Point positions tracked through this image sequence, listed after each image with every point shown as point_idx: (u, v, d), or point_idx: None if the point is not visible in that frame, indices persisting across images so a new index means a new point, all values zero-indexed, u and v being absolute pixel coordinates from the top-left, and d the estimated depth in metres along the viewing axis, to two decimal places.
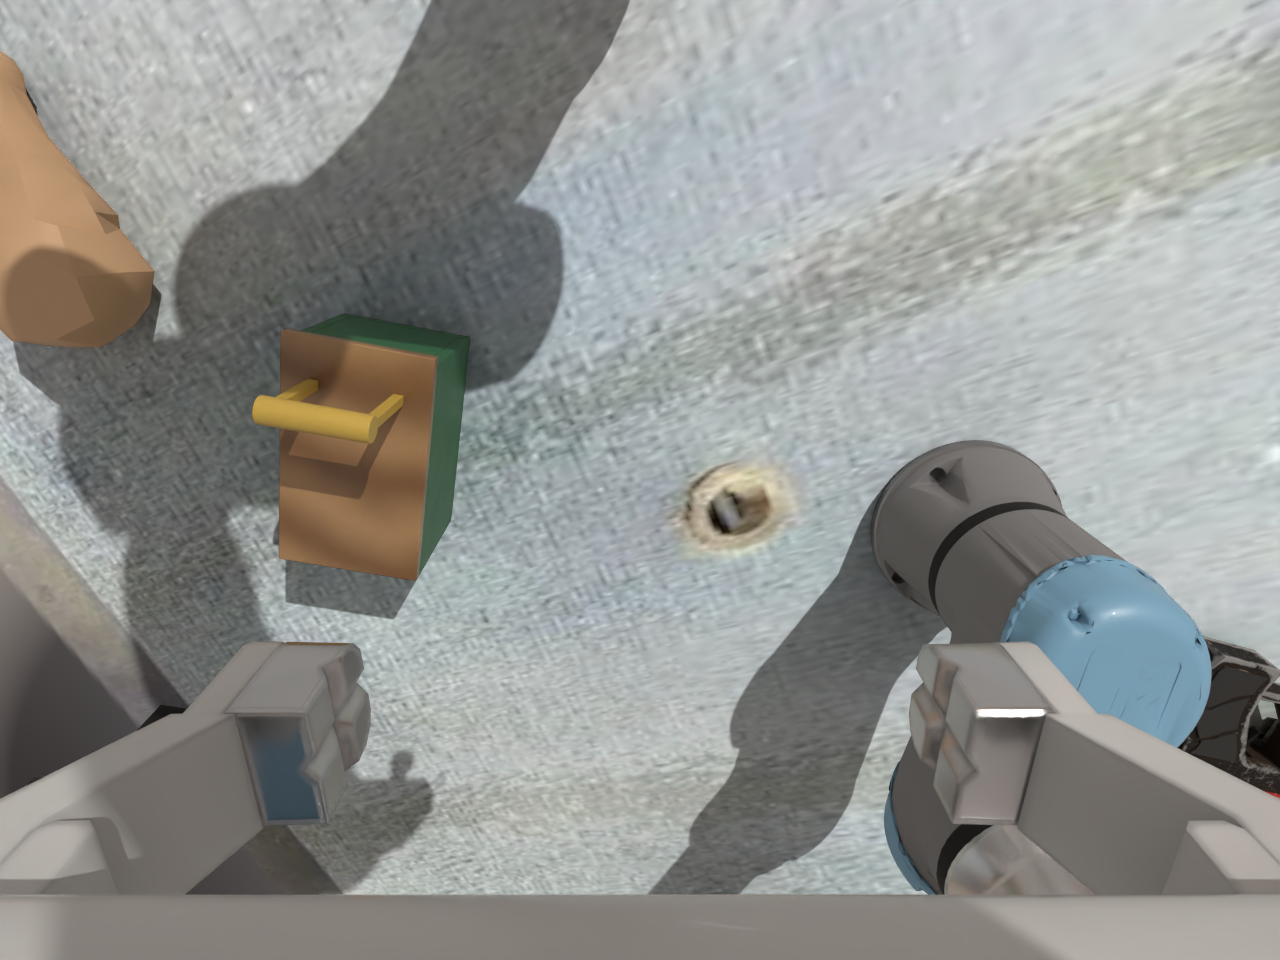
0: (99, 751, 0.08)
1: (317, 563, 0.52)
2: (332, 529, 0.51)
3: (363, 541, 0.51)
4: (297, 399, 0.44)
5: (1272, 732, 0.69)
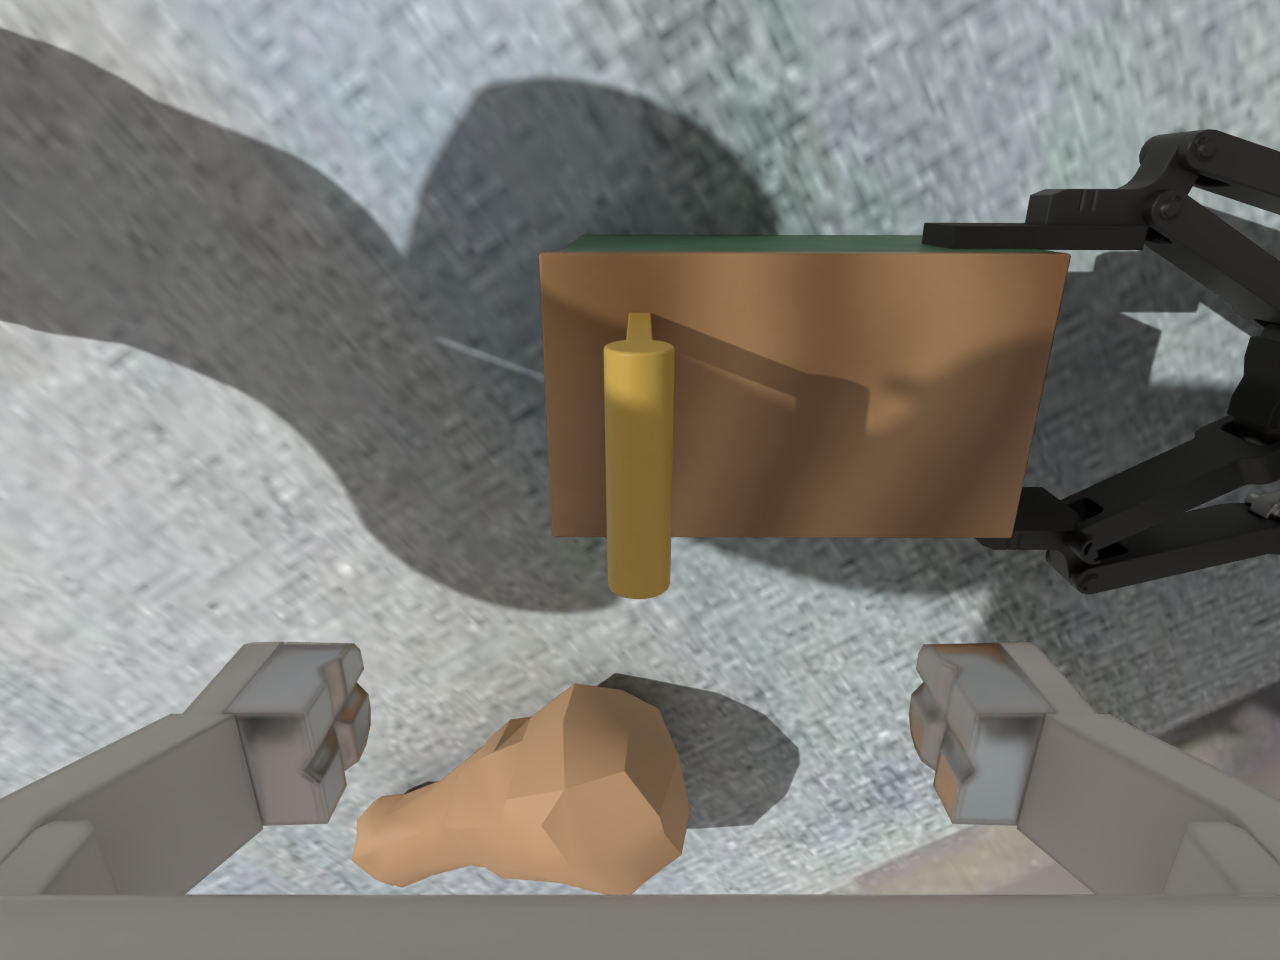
0: (99, 751, 0.08)
1: (1022, 467, 0.25)
2: (942, 440, 0.25)
3: (969, 376, 0.24)
4: None
5: None
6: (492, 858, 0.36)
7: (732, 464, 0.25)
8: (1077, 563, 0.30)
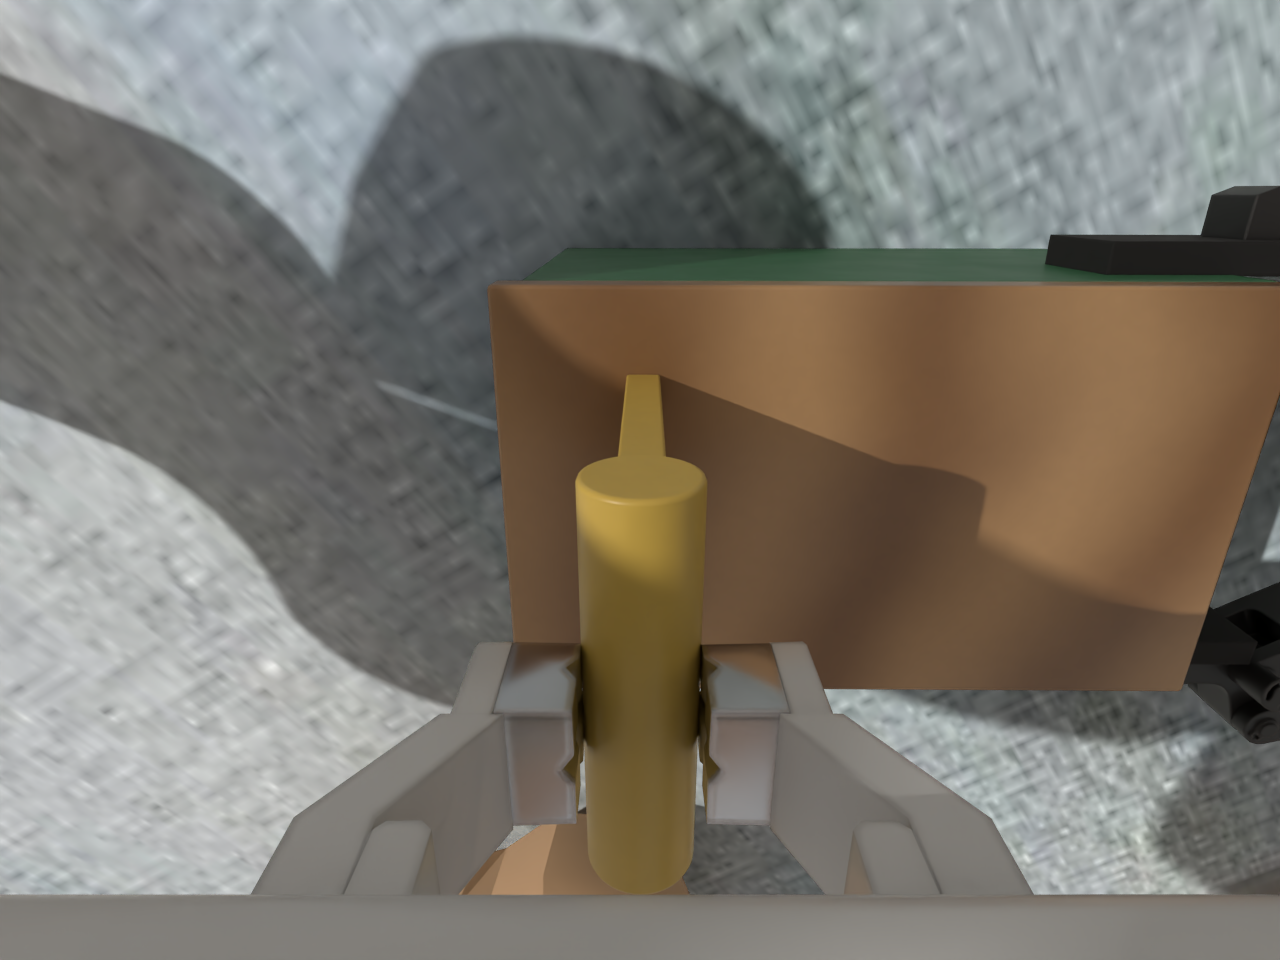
0: (391, 751, 0.08)
1: (1207, 596, 0.17)
2: (1091, 558, 0.17)
3: (1140, 469, 0.16)
4: None
5: None
6: None
7: (779, 591, 0.17)
8: (1244, 701, 0.22)
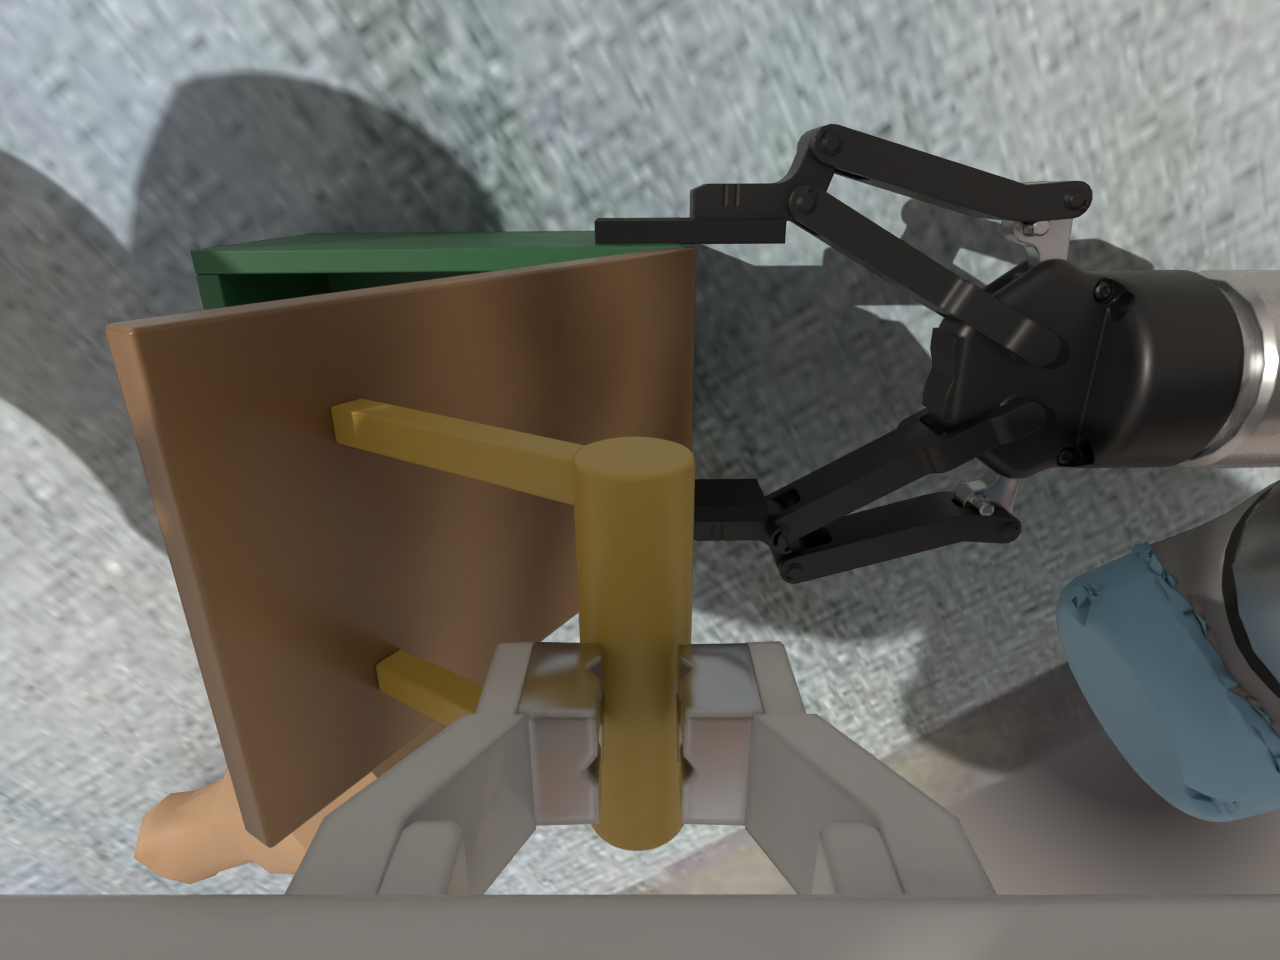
0: (418, 751, 0.08)
1: None
2: None
3: (655, 384, 0.22)
4: None
5: None
6: (250, 853, 0.36)
7: (492, 577, 0.18)
8: (782, 553, 0.30)
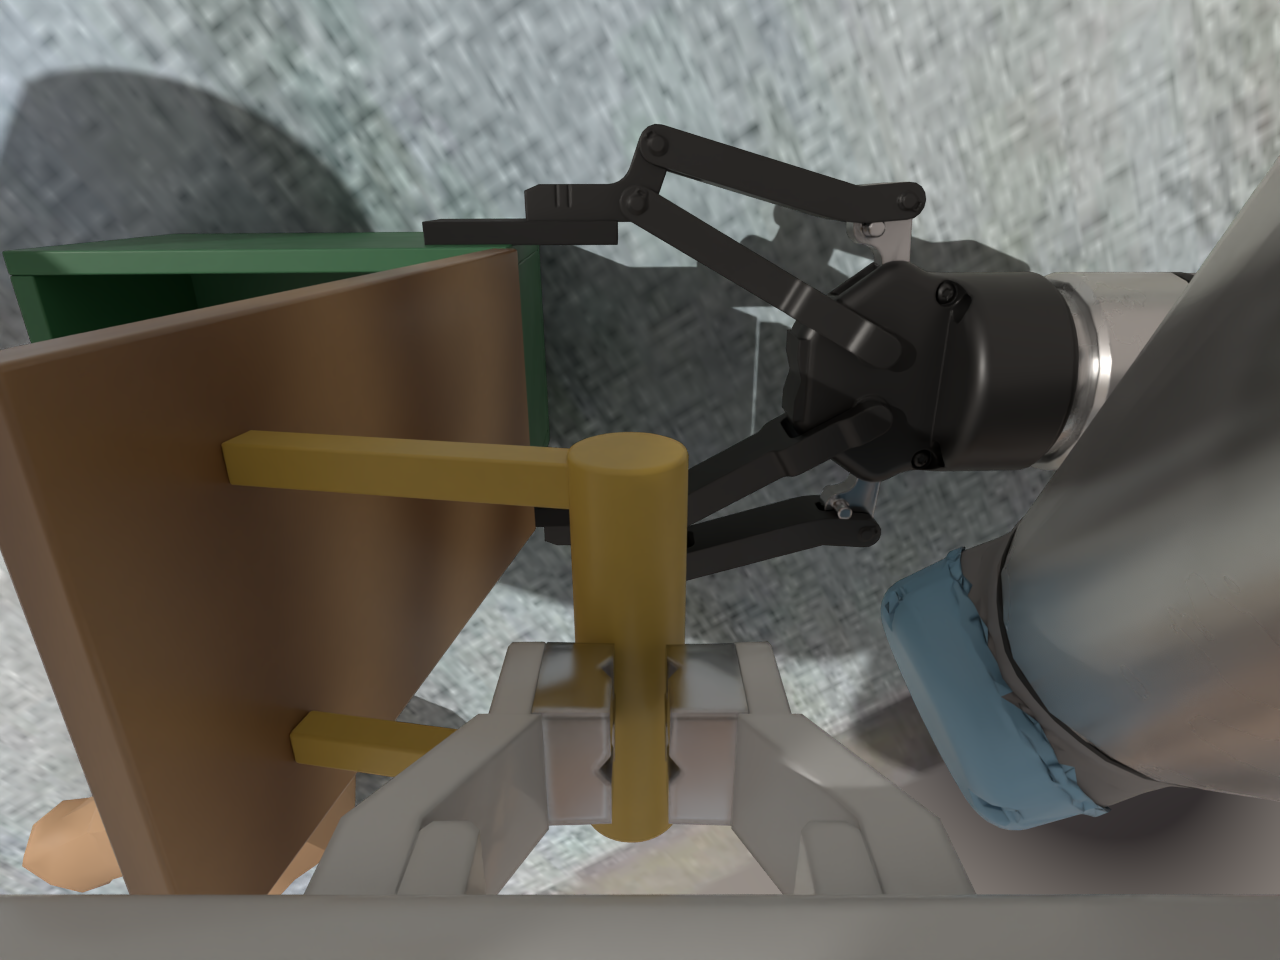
0: (433, 751, 0.08)
1: None
2: None
3: (498, 389, 0.22)
4: None
5: None
6: None
7: (384, 612, 0.16)
8: None
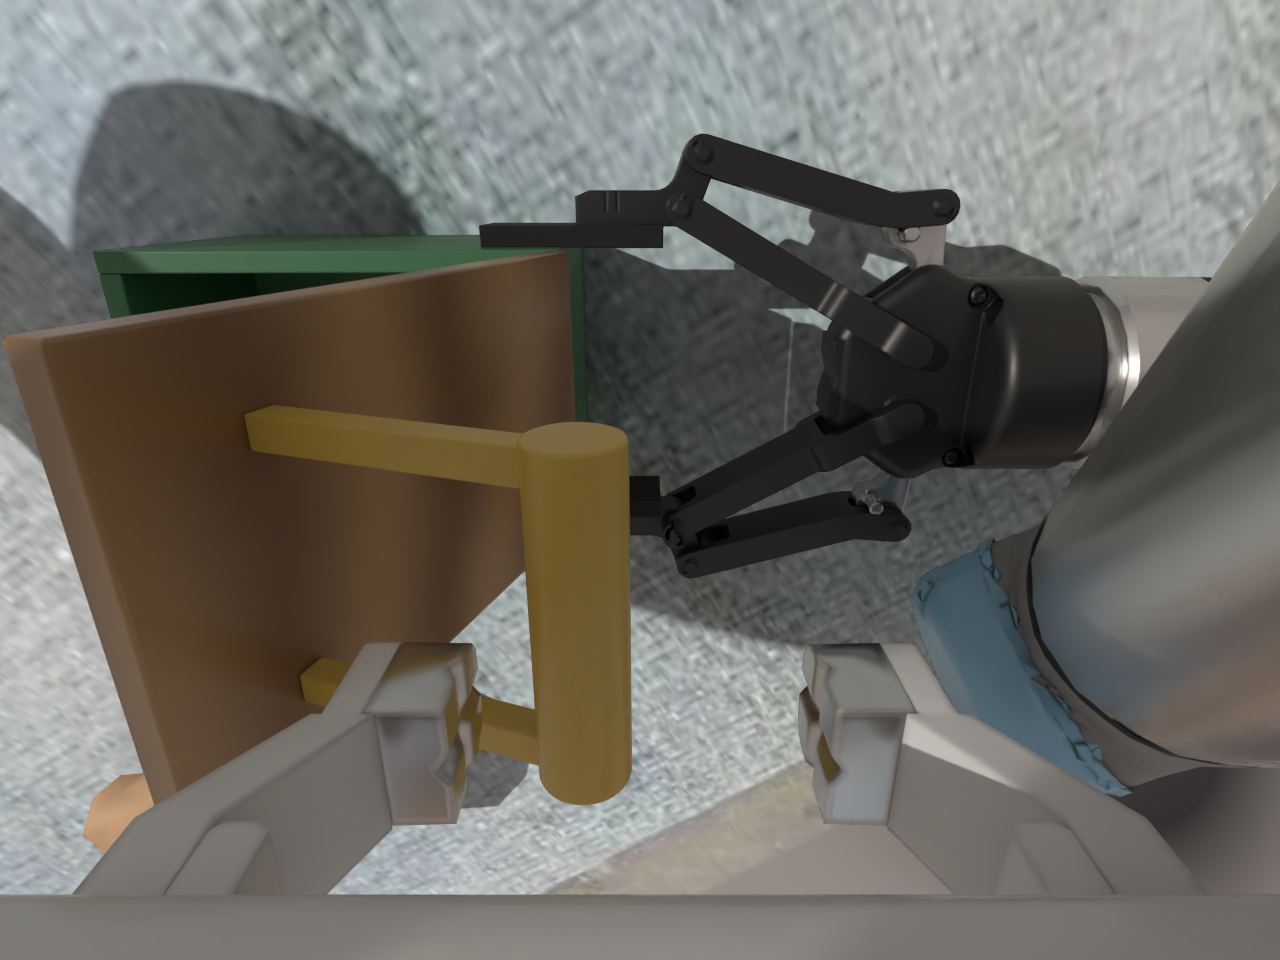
0: (250, 751, 0.08)
1: None
2: None
3: (540, 383, 0.23)
4: None
5: None
6: None
7: (404, 579, 0.18)
8: (680, 548, 0.31)
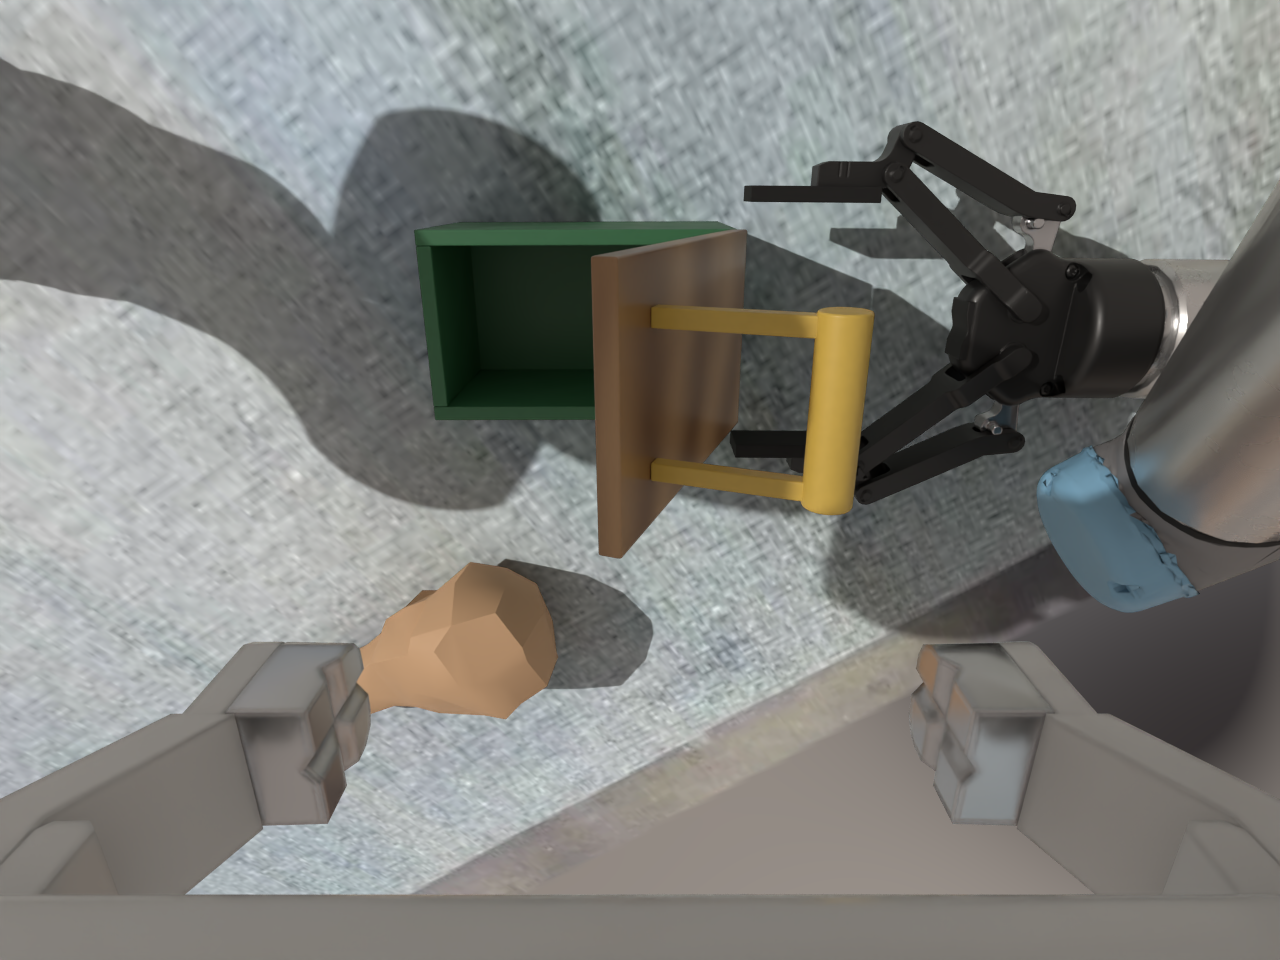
0: (99, 751, 0.08)
1: (739, 373, 0.38)
2: (726, 366, 0.35)
3: None
4: (738, 469, 0.25)
5: None
6: (403, 685, 0.49)
7: (680, 426, 0.29)
8: (858, 483, 0.43)
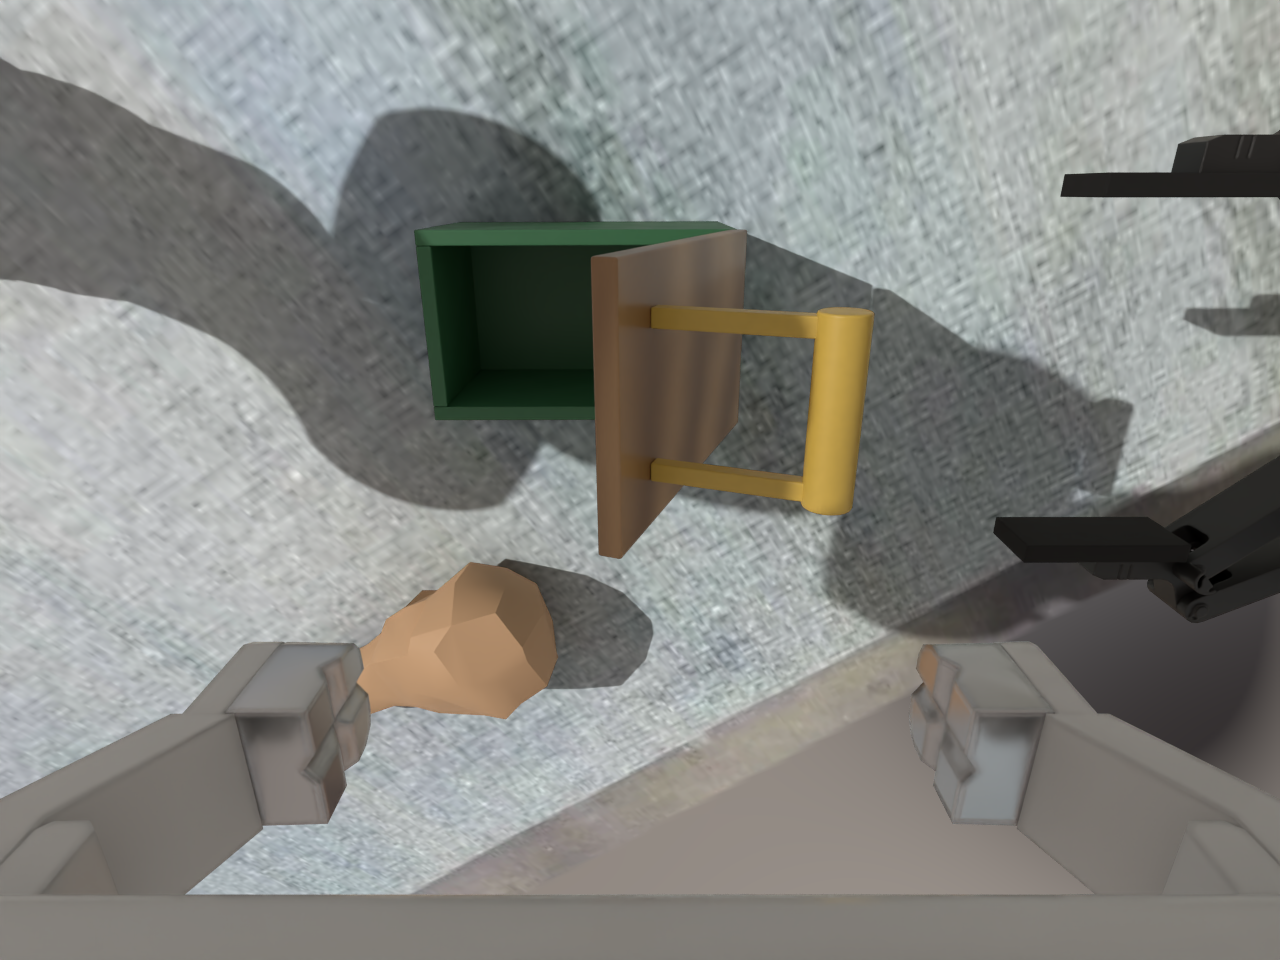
0: (99, 751, 0.08)
1: (739, 373, 0.38)
2: (726, 366, 0.35)
3: None
4: (738, 469, 0.25)
5: None
6: (403, 685, 0.49)
7: (680, 426, 0.29)
8: (1185, 592, 0.30)
